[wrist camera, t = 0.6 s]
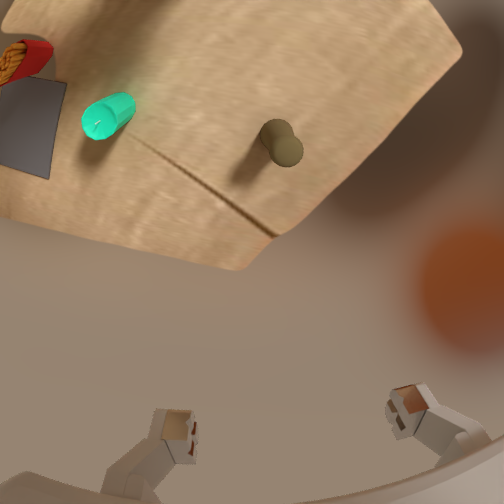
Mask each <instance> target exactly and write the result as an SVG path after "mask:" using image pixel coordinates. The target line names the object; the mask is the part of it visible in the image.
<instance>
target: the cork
mask: <svg viewBox="0 0 504 504" xmlns="http://www.w3.org/2000/svg"><path fill="white" fill-rule="evenodd" d="M260 139H261V141H262V143H263V144H264V146H265V147H266V148H267V149H268V150H269V153H270V156H271V159H272V160H273V161H274V163H276V164H277V165H279V166H282V167H292V166H295V165H296V164H297V163H299V162H300V160H301V159H302V156H303V150H304V148H303V145H302V143H301V141H300V140H299V139H298V138H297V137H295V136H294V133H293V129H292V127H291V126H290V124H289V123H288V122H286V121H285V120H281V119H273V120H270V121H268V122H267V123H265V124H264V126H263V127H262V129H261V132H260Z"/></svg>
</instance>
